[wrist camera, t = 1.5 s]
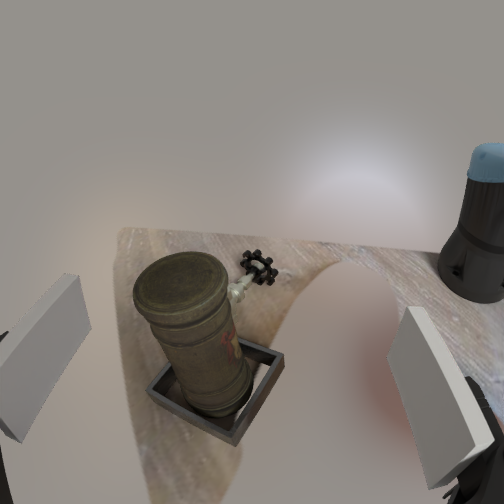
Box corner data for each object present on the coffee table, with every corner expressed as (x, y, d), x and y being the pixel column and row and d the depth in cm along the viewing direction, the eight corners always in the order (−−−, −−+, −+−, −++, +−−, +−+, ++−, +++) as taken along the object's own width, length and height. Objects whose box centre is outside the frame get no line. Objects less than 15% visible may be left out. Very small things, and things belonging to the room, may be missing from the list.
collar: (205, 336, 44) (201, 323, 42) (284, 367, 38) (283, 353, 37) (153, 401, 36) (145, 390, 34) (235, 447, 30) (231, 438, 28)
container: (210, 431, 32) (155, 338, 21) (171, 382, 38) (115, 279, 27) (269, 388, 36) (252, 277, 25) (225, 346, 42) (195, 236, 31)
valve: (234, 340, 43) (280, 288, 50) (226, 308, 39) (277, 255, 46) (199, 322, 46) (246, 275, 54) (188, 290, 42) (240, 243, 50)
